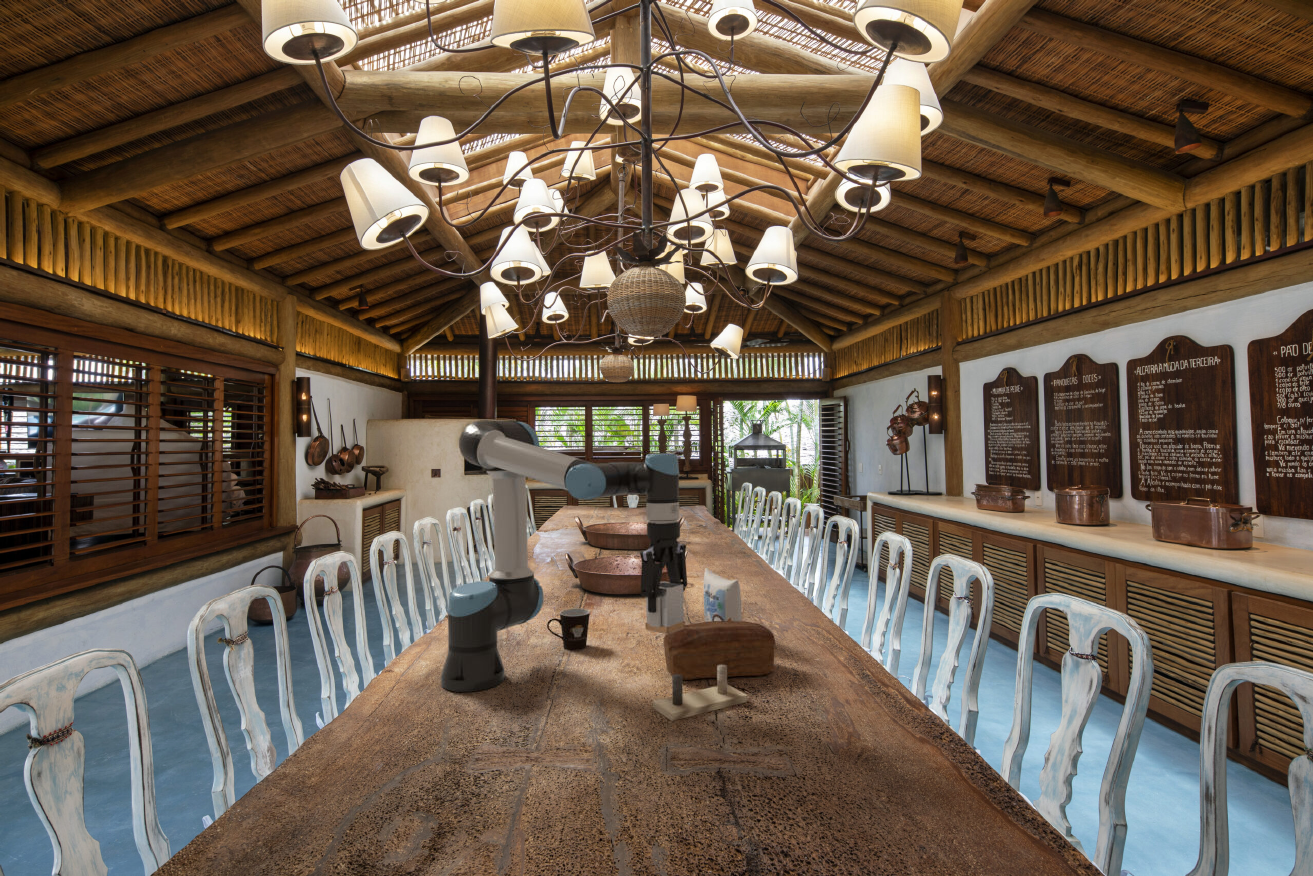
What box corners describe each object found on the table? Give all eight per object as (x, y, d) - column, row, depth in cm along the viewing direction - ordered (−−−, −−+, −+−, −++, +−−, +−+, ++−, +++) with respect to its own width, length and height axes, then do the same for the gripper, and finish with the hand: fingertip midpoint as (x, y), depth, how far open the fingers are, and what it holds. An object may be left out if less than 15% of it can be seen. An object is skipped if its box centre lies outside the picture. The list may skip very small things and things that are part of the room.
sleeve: (667, 635, 143) (666, 589, 144) (645, 630, 148) (644, 585, 148) (685, 628, 148) (684, 584, 148) (663, 624, 152) (662, 581, 153)
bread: (781, 678, 162) (781, 629, 162) (669, 685, 158) (669, 634, 158) (763, 660, 176) (763, 614, 176) (660, 666, 172) (660, 619, 172)
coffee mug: (592, 642, 192) (592, 608, 192) (586, 652, 183) (586, 616, 183) (553, 642, 193) (553, 608, 193) (546, 651, 184) (545, 615, 184)
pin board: (671, 721, 137) (671, 685, 137) (652, 707, 144) (652, 673, 144) (747, 701, 147) (746, 668, 147) (726, 690, 154) (725, 658, 154)
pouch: (720, 630, 203) (720, 566, 203) (749, 649, 185) (749, 578, 185) (697, 633, 200) (696, 568, 201) (724, 652, 183) (723, 580, 183)
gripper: (647, 526, 139) (649, 635, 138) (701, 518, 153) (704, 616, 153) (622, 524, 143) (624, 629, 143) (676, 516, 158) (678, 612, 158)
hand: (665, 622), depth 148 cm, fingers closed on sleeve, 6 cm apart
